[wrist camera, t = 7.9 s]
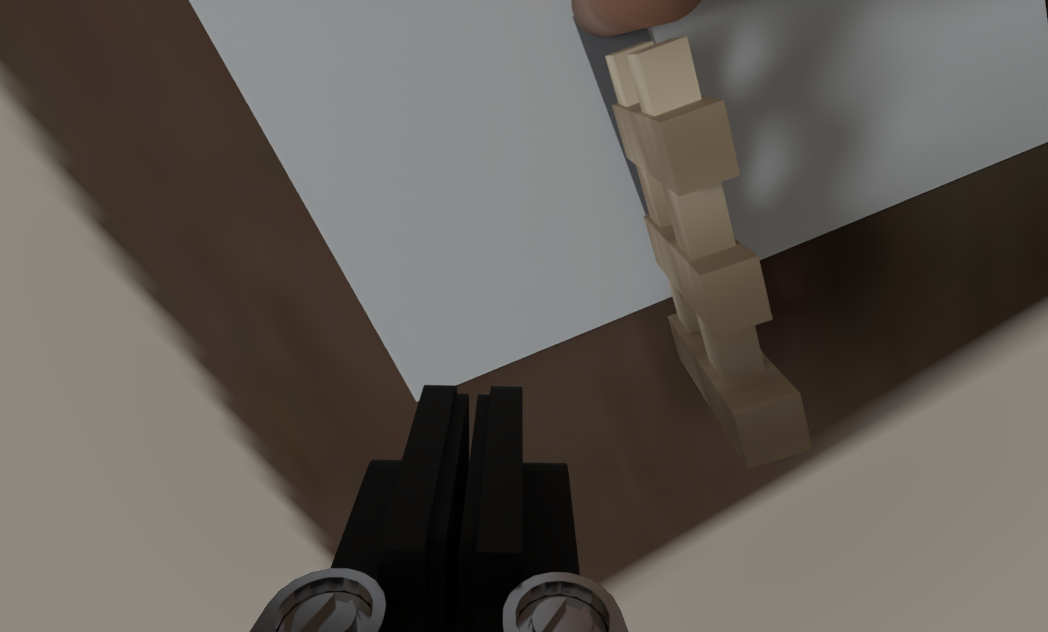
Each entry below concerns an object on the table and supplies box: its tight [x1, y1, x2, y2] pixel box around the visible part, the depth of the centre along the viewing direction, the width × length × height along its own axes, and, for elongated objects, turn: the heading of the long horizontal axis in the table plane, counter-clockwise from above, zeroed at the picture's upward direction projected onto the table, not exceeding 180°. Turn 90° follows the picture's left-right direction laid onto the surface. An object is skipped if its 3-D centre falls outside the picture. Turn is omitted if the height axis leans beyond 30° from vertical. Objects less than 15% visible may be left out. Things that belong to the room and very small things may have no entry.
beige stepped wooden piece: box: [571, 0, 812, 469], centre depth 13 cm, size 9×1×5 cm, turn 19°
